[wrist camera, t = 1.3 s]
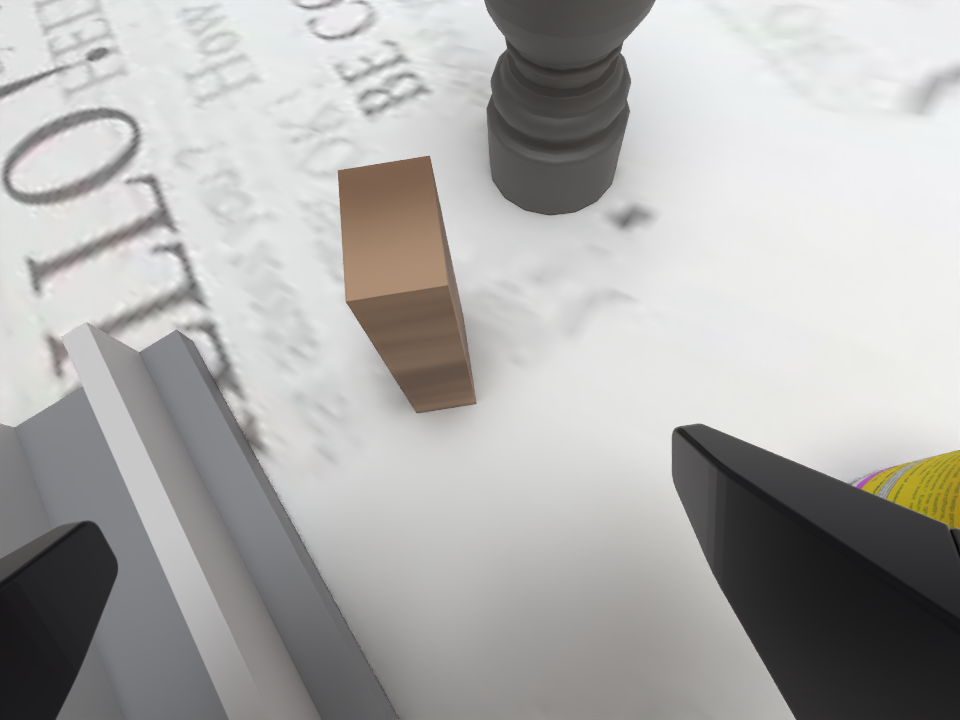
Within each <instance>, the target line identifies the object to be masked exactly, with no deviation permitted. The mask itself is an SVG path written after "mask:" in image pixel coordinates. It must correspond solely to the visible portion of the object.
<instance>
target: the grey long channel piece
mask: <svg viewBox="0 0 960 720" xmlns="http://www.w3.org/2000/svg"><path fill="white" fill-rule="evenodd" d="M61 338H62V340H63V343H64V345H65V347H66V350H67V352H68V354H69V356H70V359H71V361H72V363H73V366H74V368H75V370H76V372H77V375H78V377H79V379H80V381H81V384H82V386H83V387H81V388H79V389H78V390H76V391H75V392H73V393H71V394H70V395H68V396H66V397H65V398H63V399H61V400H60V401H58V402H56V403H55V404H53V405H51V406H50V407H48V408H46V409H45V410H43V411H41V412H40V413H38V414H36V415H35V416H33V417H32V418H30V419H28V420H27V421H25V422H23V423H22V424H20V425H18V426H17V427H15V428H14V427H10V426H7V425H3V424H0V559H1V558H2V557H4V556H6V555H8V554H9V553H11V552H13V551H15V550H17V549H18V548H20V547H22V546H24V545H26V544H27V543H29V542H31V541H33V540H34V539H36V538H38V537H40V536H42V535H43V534H45V533H47V532H49V531H50V530H52V529H54V528H56V527H58V526H60V525H62V524H65V523H71V522H78V521H84V520H90V521H93V522H95V523H96V524H98V526H99V527H100V529H101V531H102V532H103V534H104V536H105V538H106V540H107V541H108V543H109V545H110V547H111V549H112V551H113V552H114V554H115V556H116V558H117V561H118V575H117V578H116V581H115V583H114V586H113V588H112V591H111V593H110V596H109V598H108V601H107V603H106V606H105V609H104V611H103V614H102V616H101V619H100V621H99V624H98V626H97V629H96V631H95V634H94V637H93V639H92V642H91V644H90V647H89V649H88V652H87V654H86V657H85V659H84V662H83V664H82V666H81V669H80V671H79V674H78V676H77V678H76V680H75V682H74V684H73V686H72V688H71V691H70V693H69V695H68V697H67V699H66V701H65V703H64V705H63V707H62V709H61V711H60V713H59V715H58V717H57V719H56V720H399V719H398V717H397V715H396V713H395V711H394V709H393V708H392V706H391V704H390V702H389V700H388V698H387V697H386V695H385V693H384V691H383V689H382V687H381V686H380V684H379V682H378V680H377V678H376V676H375V675H374V673H373V671H372V669H371V667H370V665H369V664H368V662H367V660H366V658H365V656H364V654H363V653H362V651H361V649H360V647H359V645H358V643H357V642H356V640H355V638H354V636H353V634H352V632H351V631H350V629H349V627H348V625H347V623H346V621H345V620H344V618H343V616H342V614H341V612H340V610H339V609H338V607H337V605H336V603H335V601H334V599H333V598H332V596H331V594H330V592H329V590H328V589H327V587H326V585H325V583H324V581H323V579H322V578H321V576H320V574H319V572H318V570H317V568H316V567H315V565H314V563H313V561H312V559H311V557H310V556H309V554H308V552H307V550H306V548H305V546H304V545H303V543H302V541H301V539H300V537H299V535H298V534H297V532H296V530H295V528H294V526H293V524H292V523H291V521H290V519H289V517H288V515H287V513H286V512H285V510H284V508H283V506H282V504H281V502H280V501H279V499H278V497H277V495H276V493H275V491H274V490H273V488H272V486H271V484H270V482H269V480H268V479H267V477H266V475H265V473H264V471H263V469H262V468H261V466H260V464H259V462H258V460H257V458H256V457H255V455H254V453H253V451H252V449H251V447H250V446H249V444H248V442H247V440H246V438H245V436H244V435H243V433H242V431H241V429H240V427H239V425H238V424H237V422H236V420H235V418H234V416H233V414H232V413H231V411H230V409H229V407H228V405H227V403H226V402H225V400H224V398H223V396H222V394H221V393H220V391H219V389H218V387H217V385H216V383H215V382H214V380H213V378H212V376H211V374H210V372H209V371H208V369H207V367H206V365H205V363H204V361H203V360H202V358H201V356H200V354H199V352H198V350H197V349H196V347H195V345H194V343H193V341H192V340H190V339H189V338H188V337H186V336H185V335H183V334H182V333H181V332H179V331H178V330H175V331H174V332H172V333H170V334H169V335H167V336H165V337H164V338H162V339H160V340H159V341H157V342H156V343H154V344H152V345H151V346H149V347H147V348H146V349H144V350H142V351H141V352H137V351H136V350H134V349H132V348H130V347H129V346H127V345H125V344H123V343H122V342H120V341H118V340H116V339H115V338H113V337H111V336H110V335H108V334H106V333H104V332H103V331H101V330H99V329H97V328H96V327H94V326H92V325H90V324H89V323H87V322H86V323H84V324H82V325H81V326H79V327H77V328H76V329H74V330H72V331H71V332H69V333H67V334H65V335H64V336H62V337H61Z"/></svg>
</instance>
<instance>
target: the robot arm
mask: <svg viewBox="0 0 960 720" xmlns="http://www.w3.org/2000/svg"><path fill="white" fill-rule="evenodd" d="M672 477H673V482H674V485H675V488H676V490H677V493H678V495H679V497H680V500H681V502H682V504H683V506H684V509H685V511H686V513H687V516H688V518H689V520H690V523H691V525H692V527H693V530H694V532H695V534H696V537H697V539H698V541H699V543H700V546H701V548H702V550H703V553H704V555H705V557H706V560H707V562H708V564H709V566H710V568H711V571H712V573H713V575H714V577H715V578H716V580H717V582H718V584H719V586H720V588H721V590H722V591H723V593H724V595H725V597H726V598H727V600H728V602H729V603H730V605H731V607H732V609H733V610H734V612H735V614H736V616H737V617H738V619H739V621H740V623H741V624H742V626H743V628H744V630H745V631H746V633H747V635H748V637H749V638H750V640H751V642H752V644H753V645H754V647H755V649H756V651H757V652H758V654H759V656H760V657H761V659H762V661H763V663H764V664H765V666H766V668H767V670H768V671H769V673H770V675H771V677H772V678H773V680H774V682H775V684H776V685H777V687H778V689H779V691H780V692H781V694H782V696H783V698H784V699H785V701H786V703H787V705H788V706H789V708H790V710H791V711H792V713H793V715H794V717H795V718H796V720H960V529H958V528H951V529H949V527H948V525H947V524H945V523H943V522H940V521H938V520H935V519H933V518H930V517H928V516H926V515H923V514H921V513H918V512H916V511H913V510H911V509H908V508H906V507H904V506H901V505H899V504H896V503H894V502H891V501H889V500H887V499H884V498H882V497H879V496H877V495H874V494H872V493H869V492H867V491H865V490H862V489H860V488H857V487H855V486H852V485H850V484H847V483H845V482H843V481H840V480H838V479H835V478H833V477H830V476H828V475H825V474H823V473H821V472H818V471H816V470H813V469H811V468H808V467H806V466H804V465H801V464H799V463H796V462H794V461H791V460H789V459H786V458H784V457H782V456H779V455H777V454H774V453H772V452H769V451H767V450H764V449H762V448H760V447H757V446H755V445H752V444H750V443H747V442H745V441H743V440H740V439H738V438H735V437H733V436H730V435H728V434H725V433H723V432H721V431H718V430H716V429H713V428H711V427H708V426H706V425H703V424H692V425H686V426H680V427H676V428H675V429H674V430H673V433H672ZM117 575H118V561H117V558H116V556H115V554H114V552H113V551H112V549H111V547H110V545H109V543H108V541H107V540H106V538H105V536H104V534H103V532H102V531H101V529H100V527H99V526H98V524H96V523H95V522H93V521H90V520H84V521H78V522H71V523H65V524H62V525H60V526H58V527H56V528H54V529H52V530H50V531H49V532H47V533H45V534H43V535H42V536H40V537H38V538H36V539H34V540H33V541H31V542H29V543H27V544H26V545H24V546H22V547H20V548H18V549H17V550H15V551H13V552H11V553H9V554H8V555H6V556H4V557H2V558H1V559H0V720H56V719H57V717H58V715H59V713H60V711H61V709H62V707H63V705H64V703H65V701H66V699H67V697H68V695H69V693H70V691H71V688H72V686H73V684H74V682H75V680H76V678H77V676H78V674H79V671H80V669H81V666H82V664H83V662H84V659H85V657H86V654H87V652H88V649H89V647H90V644H91V642H92V639H93V637H94V634H95V631H96V629H97V626H98V624H99V621H100V619H101V616H102V614H103V611H104V609H105V606H106V603H107V601H108V598H109V596H110V593H111V591H112V588H113V586H114V583H115V581H116V578H117Z"/></svg>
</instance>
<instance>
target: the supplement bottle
mask: <svg viewBox="0 0 960 720" xmlns="http://www.w3.org/2000/svg"><path fill="white" fill-rule="evenodd" d="M852 486H855V487H857V488H860V489H862V490H865V491H867V492H869V493H872V494H874V495H877V496H879V497H882V498H884V499H887V500H889V501H891V502H894V503H896V504H899V505H901V506H904V507H906V508H908V509H911V510H913V511H916V512H918V513H921V514H923V515H926V516H928V517H930V518H933V519H935V520H938V521H940V522H943V523H945V524H947V525H948V527H949V529H951V528H958V529H960V450H958V451H954V452H950V453H945V454H942V455H938V456H934V457H930V458H926V459H922V460H918V461H914V462H910V463H906V464H902V465H899V466H895V467H891V468H888V469H884V470H881V471H878V472H875V473H872V474H869V475H867V476H865V477H863V478H861V479H860V480H858V481H856V482H855V483H854V484H852Z"/></svg>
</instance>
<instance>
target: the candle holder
mask: <svg viewBox="0 0 960 720" xmlns="http://www.w3.org/2000/svg"><path fill="white" fill-rule="evenodd" d="M484 1H485V4H486V7H487V11H488V13H489V15H490V16H491V18H492V19H493V21H494V22H495V24H496V26H497V27H498V29H499V30H500V31H501V32H502V33H503V35H504V36H505V39H506V45H507V50H506V51H505V52H504V53H503V54H502V55H501V56H500V57H499V59H498V61H497V64H496V67H495V69H494V72H493V75H492V77H491V87H492V95H491V98H490V101H489V103H488V106H487V124H488V140H489V156H490V165H491V172H492V179H493V181H494V183H495V184H496V186H497V187H498V189H499V190H500V191H501V193H502V194H503V196H504V197H505V198H506V199H508V200H509V201H511V202H513V203H514V204H516V205H518V206H519V207H521V208H523V209H524V210H527V211H532V212H537V213H542V214H547V215H555V214H563V213H570V212H576V211H578V210H580V209H582V208H584V207H586V206H588V205H590V204H592V203H594V202H596V201H598V199H599V198H600V197H601V196H602V195H603V194H604V192H605V191H606V190H607V189H608V188H609V187H610V185H611V184H612V181H613V177H614V173H615V169H616V165H617V161H618V157H619V153H620V149H621V145H622V141H623V137H624V133H625V129H626V125H627V121H628V117H629V113H630V110H629V106H628V102H627V96H628V92H629V88H630V84H631V79H630V75H629V72H628V68H627V65H626V61H625V58H624V57H623V56H622V54H621V53H620V52H621V49H622V45H623V41H624V40H625V39H626V38H627V37H628V36H629V35H630V34H631V33H632V32H633V30H634V29H635V28H636V27H637V26H638V25H639V24H640V22H641V21H642V20H643V19H644V18H645V17H646V16H647V14H648V13H649V12H650V10H651V8H652V6H653V4H654V2H655V0H484Z"/></svg>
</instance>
